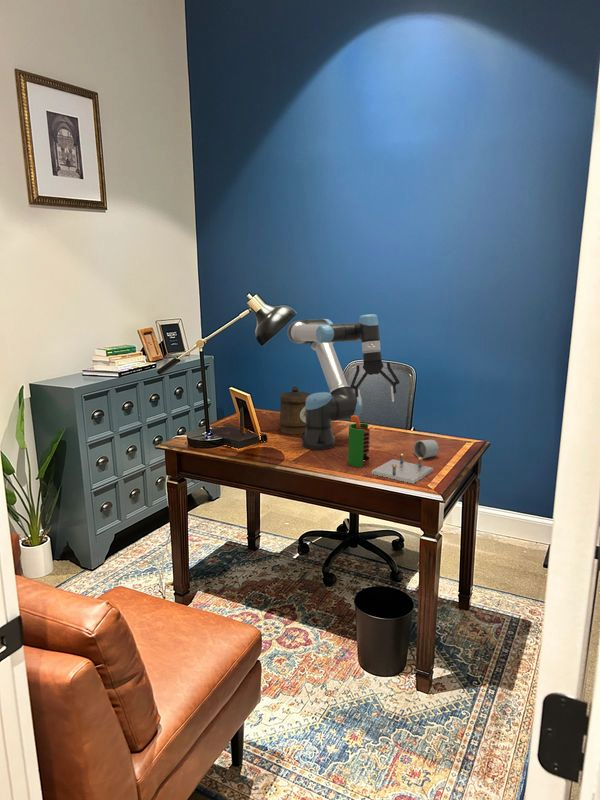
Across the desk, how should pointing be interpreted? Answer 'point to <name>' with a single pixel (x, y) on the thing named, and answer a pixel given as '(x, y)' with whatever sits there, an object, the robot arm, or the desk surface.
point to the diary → (237, 436)
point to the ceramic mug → (426, 448)
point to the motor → (358, 443)
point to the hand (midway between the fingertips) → (376, 403)
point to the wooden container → (293, 412)
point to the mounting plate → (403, 470)
